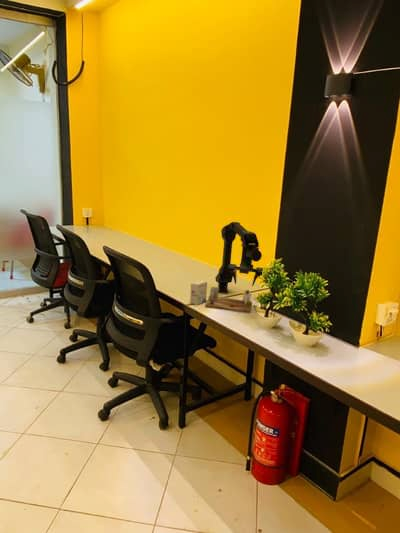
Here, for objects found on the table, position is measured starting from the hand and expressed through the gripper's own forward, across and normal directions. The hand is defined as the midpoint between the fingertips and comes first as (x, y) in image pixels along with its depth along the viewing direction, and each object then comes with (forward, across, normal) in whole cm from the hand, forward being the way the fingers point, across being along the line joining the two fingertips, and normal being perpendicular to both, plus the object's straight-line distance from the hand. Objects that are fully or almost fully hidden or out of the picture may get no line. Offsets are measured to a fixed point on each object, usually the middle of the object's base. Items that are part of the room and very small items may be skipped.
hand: (244, 284), depth 209 cm
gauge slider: (+11, +2, +1) cm, 11 cm away
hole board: (+13, -7, 0) cm, 15 cm away
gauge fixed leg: (+11, -16, +1) cm, 20 cm away
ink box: (+13, -24, -2) cm, 28 cm away
